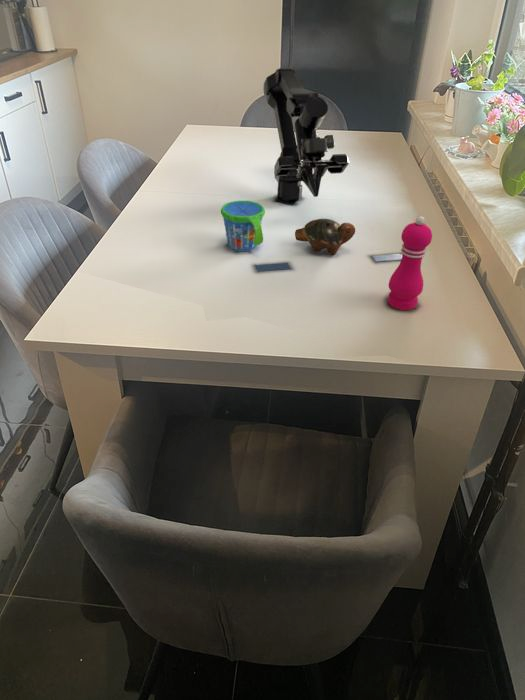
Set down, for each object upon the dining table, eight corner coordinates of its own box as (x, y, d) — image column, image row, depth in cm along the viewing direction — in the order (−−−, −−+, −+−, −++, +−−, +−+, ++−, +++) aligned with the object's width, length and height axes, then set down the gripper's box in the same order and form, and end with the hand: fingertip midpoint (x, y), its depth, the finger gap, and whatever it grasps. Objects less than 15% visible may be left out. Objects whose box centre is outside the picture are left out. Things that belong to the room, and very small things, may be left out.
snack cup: (211, 237, 142) (211, 199, 136) (248, 230, 146) (249, 194, 140) (235, 263, 131) (236, 223, 125) (274, 255, 135) (276, 216, 129)
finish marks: (255, 265, 131) (255, 265, 130) (400, 254, 138) (400, 253, 138) (258, 271, 128) (258, 271, 128) (405, 259, 136) (405, 259, 136)
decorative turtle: (353, 260, 134) (355, 231, 129) (292, 257, 137) (292, 228, 132) (354, 241, 142) (356, 213, 137) (297, 239, 144) (297, 211, 139)
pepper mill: (381, 294, 122) (398, 209, 110) (412, 294, 122) (432, 209, 110) (390, 312, 116) (408, 224, 104) (423, 311, 117) (445, 224, 105)
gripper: (279, 123, 132) (288, 184, 130) (351, 121, 135) (361, 180, 133) (270, 146, 142) (278, 203, 141) (337, 144, 146) (346, 199, 144)
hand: (316, 196), depth 139 cm, fingers closed
